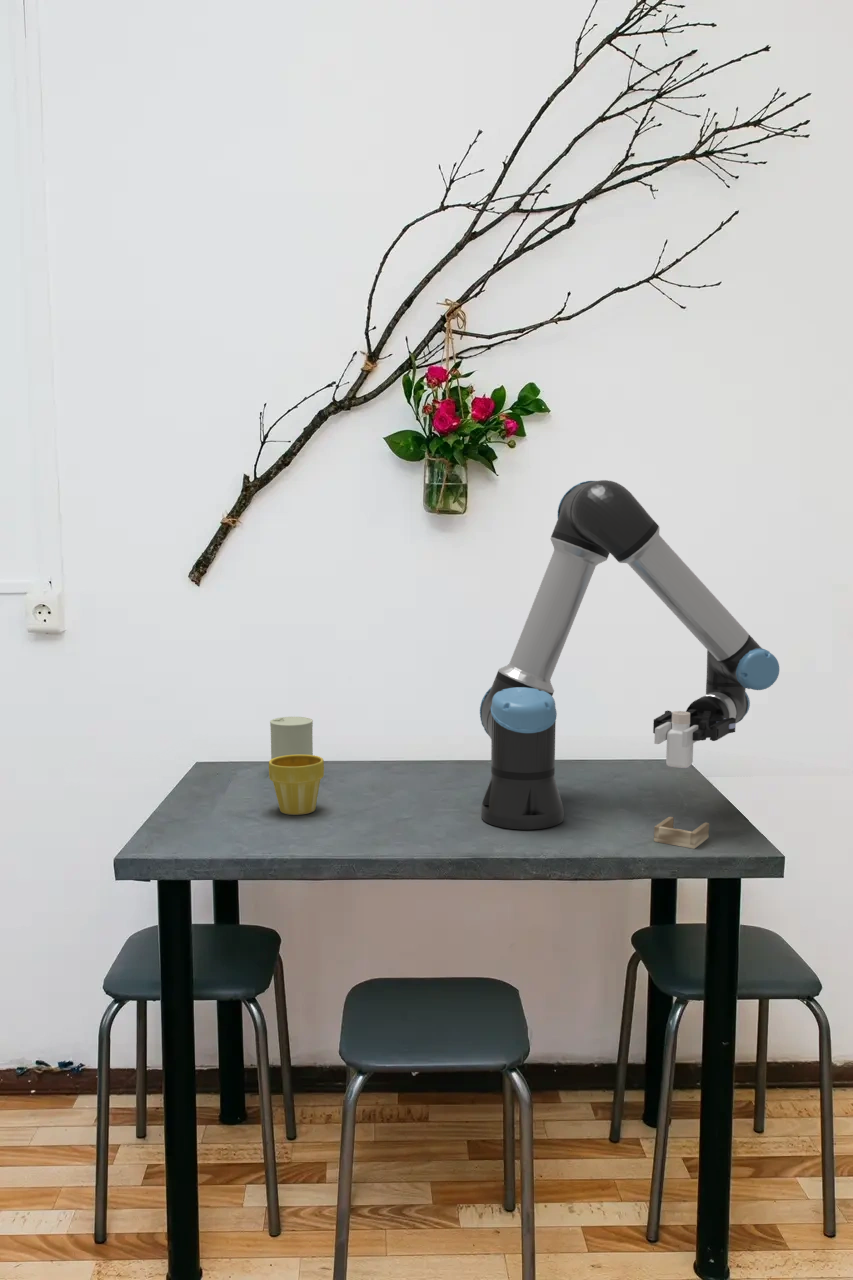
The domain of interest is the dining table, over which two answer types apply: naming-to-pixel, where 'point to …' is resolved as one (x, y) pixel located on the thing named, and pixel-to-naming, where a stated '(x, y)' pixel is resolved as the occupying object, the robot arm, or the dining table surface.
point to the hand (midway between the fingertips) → (670, 737)
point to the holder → (680, 834)
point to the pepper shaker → (678, 741)
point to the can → (291, 736)
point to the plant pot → (296, 782)
